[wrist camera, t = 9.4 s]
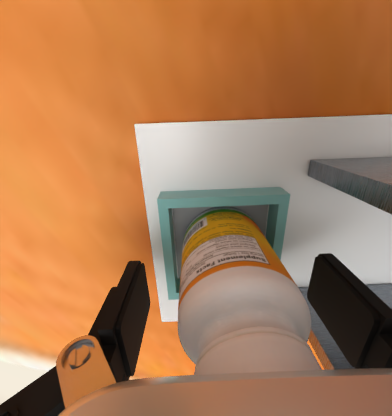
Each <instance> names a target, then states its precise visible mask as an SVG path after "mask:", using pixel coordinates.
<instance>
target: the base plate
mask: <svg viewBox="0 0 392 416" xmlns="http://www.w3.org/2000/svg"><path fill="white" fill-rule="evenodd" d="M134 126H135V133H136V140H137V147H138V155H139V162H140V169H141V176H142V183H143V190H144V198H145V205H146V212H147V219H148V226H149V233H150V241H151V248H152V255H153V262H154V269H155V276H156V284H157V291H158V298H159V305H160V312H161V319H162V322H171V321H178V303H179V291H180V277H181V264H182V249H183V240H184V235H185V232H186V230H187V228H188V226H189V224H190V223H191V222H192V221H193V220H194V219H195V218H196V217H197V216H198V215H200V214H201V213H203V212H205V211H207V210H209V209H213V208H218V207H229V208H235V209H238V210H240V211H242V212H244V213H246V214H247V215H249V216H250V217H251V218H252V219H253V220H254V222H255V223H256V224H257V226H258V227H259V229H260V230H261V232H262V233H263V234H264V236H265V238H266V239H267V241H268V242H269V244H270V245H271V247H272V248H273V250H274V251H275V253H276V255H277V256H278V258H279V259H280V261H281V262H282V264H283V265H284V267H285V268H286V270H287V271H288V273H289V274H290V276H291V278H292V279H293V281H294V282H295V284H296V285H297V287H309V283H310V278H311V274H312V269H313V265H314V260H315V257H317V256H318V255H319V254H324V253H331V254H333V255H334V256H335V257H336V258H337V259H338V260H340V261H341V262H342V263H343V264H344V265H345V266H346V267H347V268H348V269H349V270H350V271H351V272H352V273H353V274H354V275H356V276H357V277H358V278H359V279H360V280H361V281H362V282H363V283H364V284H365V285H375V284H392V214H390V213H388V212H385V211H383V210H381V209H379V208H377V207H374V206H372V205H370V204H368V203H366V202H364V201H361V200H359V199H357V198H355V197H353V196H351V195H348V194H346V193H344V192H342V191H340V190H337V189H335V188H333V187H331V186H329V185H327V184H324V183H322V182H320V181H318V180H316V179H314V178H311V177H309V176H308V170H309V164H310V160H317V159H343V158H369V157H392V114H387V115H360V116H334V117H308V118H282V119H255V120H229V121H203V122H177V123H150V124H134Z"/></svg>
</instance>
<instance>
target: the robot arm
mask: <svg viewBox="0 0 392 416" xmlns="http://www.w3.org/2000/svg"><path fill="white" fill-rule="evenodd" d="M307 298H308V301H309V302H310V304H311V306H312V307H313V309H314V310H315V312H316V313H317V315H318V316H319V318H320V319H321V321H322V322H323V324H324V325H325V327H326V329H327V330H328V332H329V333H330V335H331V336H332V338H333V339H334V341H335V342H336V344H337V345H338V347H339V349H340V350H341V352H342V353H343V355H344V356H345V358H346V359H347V361H348V362H349V364H350V365H351V366H352V367H355V369H334V370H304V371H278V372H254V373H230V374H208V375H187V376H170V377H155V378H143V379H135V380H129V377H130V376H133V375H134V372H135V368H136V364H137V360H138V355H139V351H140V347H141V342H142V338H143V334H144V329H145V325H146V321H147V316H148V312H149V308H150V297H149V291H148V285H147V279H146V272H145V266H144V263H141V262H140V261H129V262H128V264H127V266H126V268H125V271H124V273H123V275H122V277H121V279H120V282H119V284H118V286H117V287H112V288H111V290H110V291H109V293H108V295H107V297H106V300H105V302H104V304H103V306H102V308H101V310H100V312H99V314H98V316H97V318H96V320H95V322H94V324H93V326H92V328H91V330H90V332H89V334H88V335H86V336H81V337H79V338H76V339H74V340H73V341H71V342H70V343H69V344H67V345H66V346H65V348H64V349H63V350H62V351H61V353H60V354H59V356H58V359H57V361H56V366H55V367H54V368H52V369H51V370H49V371H48V372H47V373H45V374H44V375H42V376H41V377H40V378H38V379H37V380H35V381H34V382H32V383H31V384H29V385H28V386H27V387H25V388H24V389H22V390H21V391H20V392H18V393H17V394H15V395H14V396H13V397H11V398H10V399H8V400H7V401H5V402H4V403H2V404H1V405H0V416H392V309H391V308H390V307H389V306H388V305H387V304H385V303H384V302H383V301H382V300H381V299H380V298H379V297H378V296H377V295H376V294H375V293H374V292H373V291H372V290H371V289H369V288H368V287H367V286H366V285H365V284H364V283H363V282H362V281H361V280H360V279H359V278H358V277H357V276H356V275H354V274H353V273H352V272H351V271H350V270H349V269H348V268H347V267H346V266H345V265H344V264H343V263H342V262H341V261H340V260H338V259H337V258H336V257H335V256H334V255H333V254H331V253H324V254H319V255H318V256H317V257H315V260H314V265H313V269H312V274H311V278H310V283H309V287H308V291H307Z"/></svg>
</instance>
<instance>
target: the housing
mask: <svg viewBox="0 0 392 416" xmlns="http://www.w3.org/2000/svg"><path fill="white" fill-rule="evenodd" d="M308 176H309V177H311V178H314V179H316V180H318V181H320V182H322V183H324V184H327V185H329V186H331V187H333V188H335V189H337V190H340V191H342V192H344V193H346V194H348V195H351V196H353V197H355V198H357V199H359V200H361V201H364V202H366V203H368V204H370V205H372V206H374V207H377V208H379V209H381V210H383V211H385V212H388V213H390V214H392V157H369V158H343V159H317V160H310V164H309V170H308ZM366 286H367V287H368V288H369V289H371V290H372V291H373V292H374V293H375V294H376V295H377V296H378V297H379V298H380V299H381V300H382V301H383V302H384V303H385V304H387V305H388V306H389V307H390V308H391V309H392V284H375V285H366ZM298 288H299V290H300V292H301V293H302V295H303V297H304V298H305V300H306V302H307V305H308V307H309V310H310V315H311V331H310V335H309V338H308V339H309V341H310V343H311V345H312V347H313V349H314V350H315V352H316V354H317V356H318V358H319V360H320V362H321V363H322V365H323V367H324V369H325V370H334V369H355V367H352V366H351V365H350V364H349V362H348V361H347V359H346V358H345V356H344V355H343V353H342V352H341V350H340V349H339V347H338V345H337V344H336V342H335V341H334V339H333V338H332V336H331V335H330V333H329V332H328V330H327V329H326V327H325V325H324V324H323V322H322V321H321V319H320V318H319V316H318V315H317V313H316V312H315V310H314V309H313V307H312V306H311V304H310V302H309V301H308V298H307V291H308V287H298Z"/></svg>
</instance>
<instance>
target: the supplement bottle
mask: <svg viewBox="0 0 392 416" xmlns="http://www.w3.org/2000/svg"><path fill="white" fill-rule="evenodd" d="M310 331H311V315H310V310H309V307H308V305H307V302H306V300H305V298H304V297H303V295H302V293H301V292H300V290H299V288H298V287H297V285H296V284H295V282H294V281H293V279H292V278H291V276H290V274H289V273H288V271H287V270H286V268H285V267H284V265H283V264H282V262H281V261H280V259H279V258H278V256H277V255H276V253H275V251H274V250H273V248H272V247H271V245H270V244H269V242H268V241H267V239H266V238H265V236H264V234H263V233H262V232H261V230H260V229H259V227H258V226H257V224H256V223H255V222H254V220H253V219H252V218H251V217H250V216H249V215H247V214H246V213H244V212H242V211H240V210H238V209H235V208H229V207H218V208H213V209H209V210H207V211H205V212H203V213H201V214H200V215H198V216H197V217H196V218H195V219H194V220H193V221H192V222H191V223H190V224H189V226H188V228H187V230H186V232H185V235H184V240H183V249H182V264H181V277H180V291H179V303H178V334H179V338H180V342H181V344H182V347H183V349H184V351H185V352H186V354H187V355H188V357H189V358H190V359H191V360H192V361H193V362H194V363H195V364H196V367H195V373H194V375H208V374H230V373H254V372H278V371H304V370H322V369H321V367H320V366H319V364H318V362H317V360H316V358H315V357H314V355H313V353H312V351H311V349H310V347H309V345H308V344H307V341H308V338H309V335H310Z"/></svg>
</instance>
